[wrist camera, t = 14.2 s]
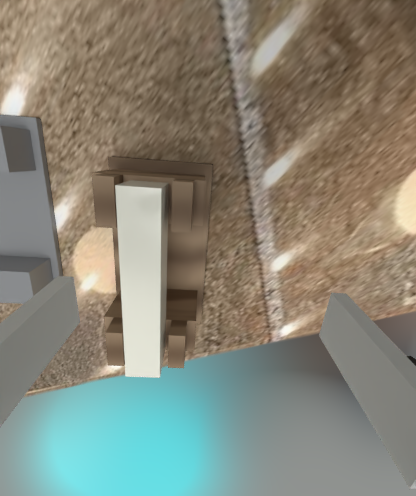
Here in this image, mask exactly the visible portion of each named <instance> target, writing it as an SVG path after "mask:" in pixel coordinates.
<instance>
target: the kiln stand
mask: <svg viewBox="0 0 416 496" xmlns="http://www.w3.org/2000/svg"><path fill="white" fill-rule="evenodd" d="M57 276H63V272H62V265H61V258H60V251H59V244H58V237H57V230H56V223H55V216H54V209H53V202H52V195H51V188H50V181H49V174H48V167H47V160H46V153H45V146H44V139H43V132H42V125H41V119H39V118H32V117H20V116H8V115H0V302H1V303H22V304H24V303H26V302H27V301H28V300H29V299H31V298H32V297H33V296H34V295H35V294H37V293H38V292H39V291H40V290H41V289H43V288H44V287H45V286H46V285H48V284H49V283H50V282H51V281H52V280H54V279H55V278H56V277H57Z"/></svg>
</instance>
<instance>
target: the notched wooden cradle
mask: <svg viewBox="0 0 416 496" xmlns="http://www.w3.org/2000/svg"><path fill="white" fill-rule="evenodd" d="M108 162H109V170H105V171H98V172H92V184H93V195H94V207H95V219H96V227H107V228H113V242H114V259H115V275H116V291H117V296H116V298H115V300H114V301H113V303H112V304H111V306H110V308H109V309H108V311H107V313H106V314H105V316H104V323H105V336H106V348H107V359H108V365H114V366H124V365H125V355H124V337H123V319H122V301H121V282H120V264H119V246H118V228H117V209H116V191H115V185H117V184H121V183H124V182H127V181H130V180H134V181H148V182H162V183H168V240H167V297H166V348H165V350H168V368H169V367H170V368H184V360H185V351H194V347H195V333H196V324H201V316H202V303H203V290H204V277H205V264H206V251H207V238H208V225H209V211H210V198H211V185H212V172H213V164H201V163H188V162H175V161H162V160H149V159H136V158H123V157H108Z"/></svg>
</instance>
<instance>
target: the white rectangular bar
mask: <svg viewBox="0 0 416 496" xmlns="http://www.w3.org/2000/svg"><path fill="white" fill-rule="evenodd" d="M115 191H116V209H117V228H118V246H119V264H120V282H121V301H122V319H123V337H124V355H125V374H126V376H129V377H130V376H131V377H159V378H160V374H161V368H162V363H163V358H164V353H165V348H166V297H167V240H168V183H162V182H148V181H134V180H130V181H127V182H124V183H121V184H117V185H115Z"/></svg>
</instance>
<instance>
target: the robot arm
mask: <svg viewBox="0 0 416 496" xmlns="http://www.w3.org/2000/svg"><path fill="white" fill-rule="evenodd" d="M79 323H80V318H79V311H78V305H77V298H76V291H75V285H74V278H73V277H67V276H57V277H56V278H55V279H54V280H52V281H51V282H50V283H49V284H48V285H46V286H45V287H44V288H43V289H41V290H40V291H39V292H38V293H37V294H35V295H34V296H33V297H32V298H31V299H29V300H28V301H27V302H26V303H24V304H23V305H22V306H21V307H20V308H18V309H17V310H16V311H15V312H14V313H12V314H11V315H10V316H9V317H7V318H6V319H5V320H4V321H3V322H1V323H0V427H1V425H2V424H3V423H4V421H5V420H6V419H7V417H8V416H9V415H10V413H11V412H12V411H13V409H14V408H15V407H16V406H17V404H18V403H19V402H20V400H21V399H22V398H23V396H24V395H25V394H26V392H27V391H28V390H29V389H30V387H31V386H32V385H33V383H34V382H35V381H36V379H37V378H38V377H39V375H40V374H41V373H42V371H43V370H44V369H45V367H46V366H47V365H48V363H49V362H50V361H51V360H52V358H53V357H54V356H55V354H56V353H57V352H58V350H59V349H60V348H61V346H62V345H63V344H64V342H65V341H66V340H67V338H68V337H69V336H70V334H71V333H72V332H73V331H74V329H75V328H76V327H77V325H78V324H79ZM319 337H320V338H321V340H322V341H323V343H324V345H325V347H326V348H327V350H328V352H329V353H330V355H331V357H332V358H333V360H334V362H335V363H336V365H337V367H338V369H339V370H340V372H341V374H342V375H343V377H344V379H345V380H346V382H347V384H348V385H349V387H350V389H351V390H352V392H353V394H354V395H355V397H356V399H357V400H358V402H359V403H360V405H361V407H362V409H363V410H364V412H365V414H366V415H367V417H368V419H369V420H370V422H371V424H372V426H373V427H374V429H375V431H376V432H377V434H378V436H379V437H380V439H381V441H382V442H383V444H384V446H385V447H386V449H387V451H388V453H389V454H390V456H391V458H392V459H393V461H394V462H395V464H396V466H397V468H398V469H399V471H400V473H401V474H402V476H403V478H404V479H405V481H406V483H407V484H408V486H409V488H412V489H416V359H414V358H413V357H411V356H406V355H405V354H404V353H403V352H402V351H401V350H400V349H399V348H398V347H397V346H396V345H395V344H394V343H393V342H392V341H391V340H390V339H389V338H388V337H387V336H386V335H385V334H384V332H382V330H381V329H380V328H379V327H378V326H377V325H376V324H375V323H374V322H373V321H372V320H371V319H370V318H369V317H368V316H367V315H366V314H365V313H364V312H363V311H362V310H361V309H360V308H359V307H358V305H357V304H356V303H355V302H354V301H353V300H352V299H351V298H350V297H349V296H348V295H347V294H343V293H331V296H330V300H329V303H328V306H327V310H326V313H325V317H324V320H323V324H322V327H321V331H320V334H319Z"/></svg>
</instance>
